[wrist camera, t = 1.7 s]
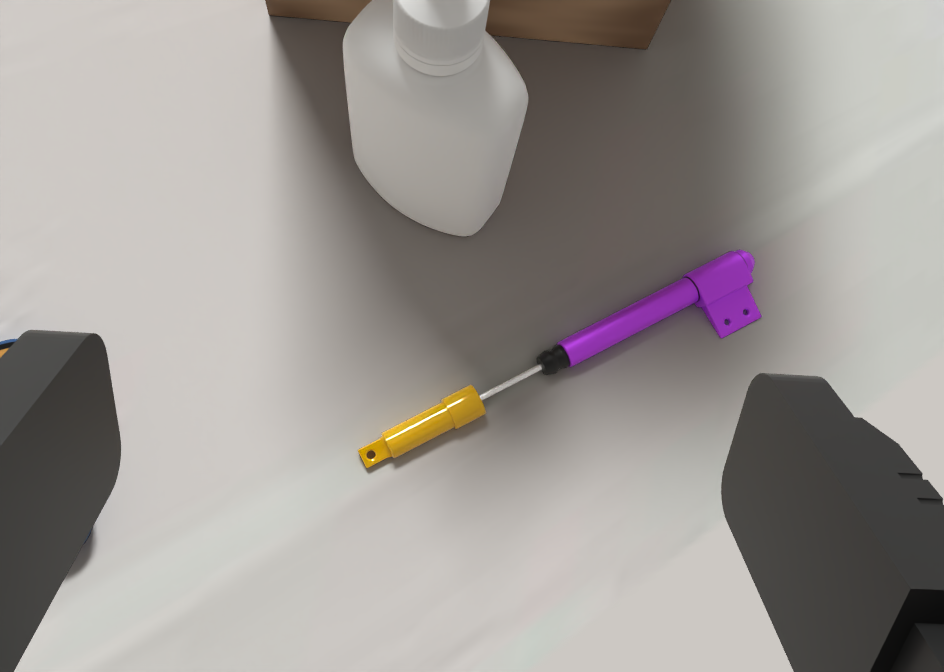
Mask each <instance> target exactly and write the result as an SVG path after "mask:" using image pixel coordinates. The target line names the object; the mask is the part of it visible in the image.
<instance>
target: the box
mask: <svg viewBox="0 0 944 672" xmlns="http://www.w3.org/2000/svg"><path fill="white" fill-rule="evenodd" d="M265 1H266V5H267V9H268V14H269V15H274V16H285V17H296V18H307V19H318V20H329V21H340V22H351V23H352V21H353V20H354V19H355V18H356V17H357V15H358V14H359V13H360V12H361V11H362V10H363V9H364V8H365V7H366V6H367V5H368V4H369V3H370V2H371V1H372V0H265ZM670 1H671V0H490V4H489V10H488V16H487V22H486V28H485V31H486V32H487V33H488V34H489V35H495V36H506V37H517V38H528V39H539V40H550V41H561V42H572V43H583V44H594V45H605V46H616V47H627V48H638V49H647V48H648V46H649V44H650V42H651V40H652V38H653V36H654V34H655V32H656V30H657V28H658V26H659V24H660V22H661V20H662V18H663V16H664V14H665V12H666V10H667V8H668V5H669V3H670Z"/></svg>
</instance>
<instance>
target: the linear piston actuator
mask: <svg viewBox="0 0 944 672" xmlns="http://www.w3.org/2000/svg"><path fill="white" fill-rule="evenodd" d="M754 264H755V261H754V258H753V256H752V255H751V254H750V253H749V252H746V251H743V250H737V251H735V252H734V251H730V252H728V253H726V254H724V255H722V256H720V257H718V258H716V259H714V260H712V261H710V262H708V263H706V264H704V265H702V266H700V267H698V268H696V269H695V270H693V271H691V272H689V273H687V274H685V275H684V276H683V277H682V279H680V280H678V281H676V282H674V283H672V284H670V285H669V286H667V287H665V288H663V289H661V290H659V291H657V292H655V293H653V294H651V295H649V296H647V297H645V298H643V299H641V300H639V301H637V302H635V303H633V304H631V305H629V306H628V307H626V308H624V309H622V310H620V311H618V312H616V313H614V314H612V315H610V316H608V317H606V318H604V319H602V320H600V321H598V322H596V323H594V324H592V325H590V326H588V327H587V328H585V329H583V330H581V331H579V332H577V333H575V334H573V335H571V336H569V337H567V338H565V339H563V340H561V341H559V342H558V343H557V345H555V346H554V347H553V348H552V350H551V351H544V352H543V353H542V354H541V355H540V356H539V357H538V358H537V362H538V364H539V365H537V366H535V367H533V368H531V369H529V370H527V371H525V372H523V373H521V374H519V375H517V376H515V377H513V378H511V379H510V380H508V381H506V382H504V383H502V384H500V385H498V386H496V387H494V388H492V389H490V390H488V391H486V392H484V393H482V394H480V395H478V393H477V391H476V390H475V388H474V387H473V386H472V385H468V386H466V387H465V388H463V389H461V390H459V391H457V392H455V393H453V394H451V395H449V396H447V397H445V398H443V399H441V403H439V404H437V405H435V406H433V407H431V408H429V409H427V410H425V411H424V412H422V413H420V414H418V415H416V416H414V417H412V418H410V419H408V420H406V421H404V422H402V423H400V424H398V425H396V426H394V427H392V428H390V429H388V430H386V431H385V432H383V433H382V436H381V437H380V438H379V439H378V440H376V441H374V442H372V443H370V444H368V445H366V446H364V447H362V448H360V449H358V452H359V454H360V456H361V458H362V460H363V462H364V464H365V466H366V468H369V467H371V466H373V465H374V464H376V463H378V462H380V461H382V460H384V459H386V458H388V457H393V458H396V457H398V456H400V455H402V454H404V453H406V452H408V451H410V450H412V449H414V448H416V447H418V446H419V445H421V444H423V443H425V442H427V441H429V440H431V439H433V438H435V437H437V436H439V435H441V434H442V433H444V432H446V431H448V430H450V429H452V428H455V429H458V428H460V427H462V426H464V425H466V424H468V423H469V422H471V421H473V420H475V419H477V418H479V417H481V416H483V415H485V414H486V411H485V407H484V405H483V403H482V400H484V399H486V398H488V397H490V396H492V395H494V394H496V393H498V392H500V391H502V390H504V389H506V388H508V387H509V386H511V385H513V384H515V383H517V382H519V381H521V380H523V379H525V378H527V377H529V376H531V375H533V374H535V373H536V372H538V371H540V370H542V371H543V373H544V374H545V375H549V374H554V373H556V372H557V371H558V370H559V369H560V368H566V367H568V366H569V367H572V366H574V365H576V364H578V363H580V362H582V361H584V360H586V359H587V358H589V357H591V356H593V355H595V354H597V353H599V352H601V351H603V350H605V349H607V348H609V347H611V346H612V345H614V344H616V343H618V342H620V341H622V340H624V339H626V338H628V337H630V336H632V335H634V334H635V333H637V332H639V331H641V330H643V329H645V328H647V327H649V326H651V325H653V324H655V323H657V322H659V321H660V320H662V319H664V318H666V317H668V316H670V315H672V314H674V313H676V312H678V311H680V310H682V309H683V308H685V307H687V306H689V305H691V304H693V303H695V305H696V306H697V307H702V309H703V310H704V312H705V314H706V315H707V317H708V319H709V320H710V322H711V324H712V325H713V327H714V328H715V330H716V332H717V333H718V335H719V337H720V338H723V337H725V336H727V335H729V334H731V333H733V332H734V331H736V330H738V329H740V328H742V327H744V326H746V325H748V324H749V323H751V322H753V321H755V320H757V319H759V318H761V314H760V312H759V310H758V308H757V306H756V304H755V302H754V299H753V297H752V295H751V293H750V291H749V289H748V287H747V285H748V284H750V283H752V282H753V278H752V276H751V273H752V271H753V268H754ZM744 309H745V310H746V311H747V315H744V314H743V310H744ZM725 319H727V320H728V321H729V324H728V325H726V324H725V323H724V321H725ZM369 451H374V452H375V457H374V458H373V459H369V458H367V453H368V452H369Z"/></svg>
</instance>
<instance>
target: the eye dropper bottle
mask: <svg viewBox="0 0 944 672" xmlns="http://www.w3.org/2000/svg"><path fill="white" fill-rule="evenodd" d="M489 4H490V0H372V1H371V2H370V3H369V4H368V5H367V6H366V7H365V8H364V9H363V10H362V11H361V12H360V13H359V14H358V15H357V17H356V18H355V19H354V20H353V21H352V23H351V24H350V25H349V27H348V28H347V31H346V33H345V36H344V38H343V60H344V72H345V82H346V92H347V102H348V111H349V121H350V130H351V139H352V148H353V154H354V159H355V162H356V164H357V165H358V167H359V169H360V171H361V172H362V174H363V175H364V177H365V178H366V179H367V181H368V182H369V183H370V185H371V186H372V187H373V188H374V189H375V190H376V192H377V193H378V194H379V195H380V196H381V197H382V198H383V199H384V200H386V201H387V202H388V203H389V204H390V205H391V206H393V207H394V208H395V209H397V210H398V211H399V212H401V213H402V214H404V215H405V216H407V217H409V218H410V219H412V220H414V221H416V222H418V223H420V224H422V225H424V226H427V227H429V228H432V229H435V230H437V231H441V232H444V233H448V234H452V235H457V236H471V235H473V234H475V233H476V232H478V231H479V230H480V229H481V228H482V226H483V225H484V224H485V223H486V221H487V220H488V219H489V217H490V216H491V215H492V213H493V212H494V211H495V209H496V208H497V207H498V205H499V204H500V201H501V198H502V195H503V192H504V188H505V185H506V182H507V178H508V175H509V171H510V168H511V164H512V161H513V158H514V154H515V151H516V147H517V144H518V140H519V136H520V133H521V129H522V126H523V122H524V118H525V114H526V110H527V106H528V92H527V88H526V85H525V83H524V81H523V79H522V77H521V75H520V73H519V72H518V70H517V69H516V67H515V65H514V64H513V62H512V61H511V60H510V58H509V57H508V55H507V54H506V53H505V51H504V50H503V49H502V48H501V47H500V45H499V44H498V43H497V42H496V41H495V40H494V39H493V38H492V37H491V36H490V35H489V34H488V33H487V32H486V31H485V28H486V22H487V16H488V10H489Z"/></svg>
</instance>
